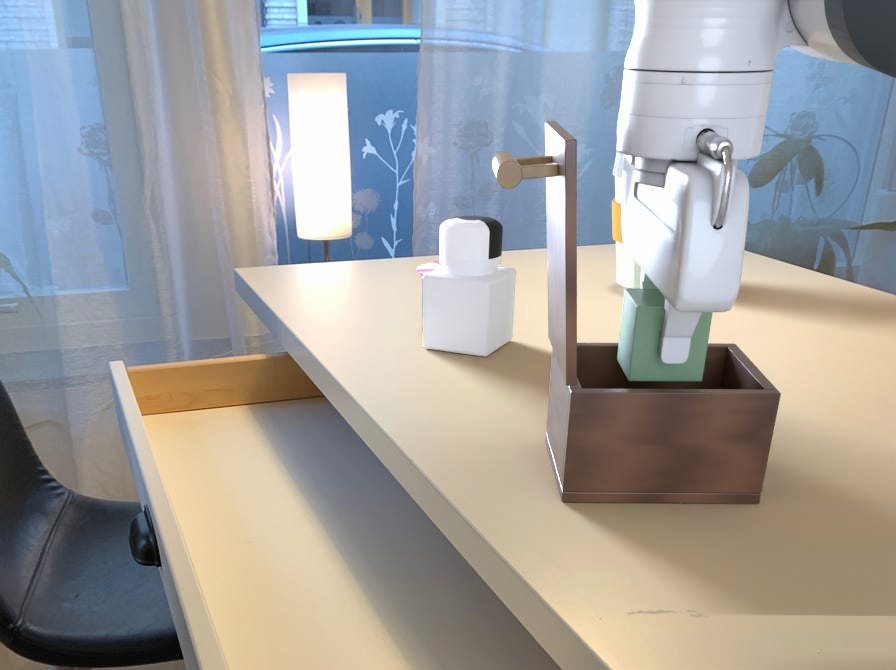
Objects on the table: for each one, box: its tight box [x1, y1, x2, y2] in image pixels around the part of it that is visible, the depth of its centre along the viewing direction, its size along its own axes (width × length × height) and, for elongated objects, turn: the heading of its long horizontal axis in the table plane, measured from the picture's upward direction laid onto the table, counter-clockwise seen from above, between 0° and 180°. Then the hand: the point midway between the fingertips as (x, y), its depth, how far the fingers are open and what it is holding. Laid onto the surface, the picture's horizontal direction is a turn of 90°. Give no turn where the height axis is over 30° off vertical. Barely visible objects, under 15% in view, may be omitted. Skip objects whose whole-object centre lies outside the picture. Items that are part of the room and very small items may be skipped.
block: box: [617, 288, 714, 382], centre depth 70 cm, size 5×5×5 cm
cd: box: [416, 260, 442, 276], centre depth 132 cm, size 11×11×1 cm
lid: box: [491, 120, 578, 386], centre depth 67 cm, size 14×12×4 cm
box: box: [545, 342, 782, 505], centre depth 73 cm, size 14×12×8 cm
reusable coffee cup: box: [611, 150, 641, 289], centre depth 123 cm, size 13×12×15 cm
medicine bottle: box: [421, 214, 517, 357], centre depth 100 cm, size 7×7×12 cm
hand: (662, 347), depth 70 cm, fingers closed on block, 5 cm apart
